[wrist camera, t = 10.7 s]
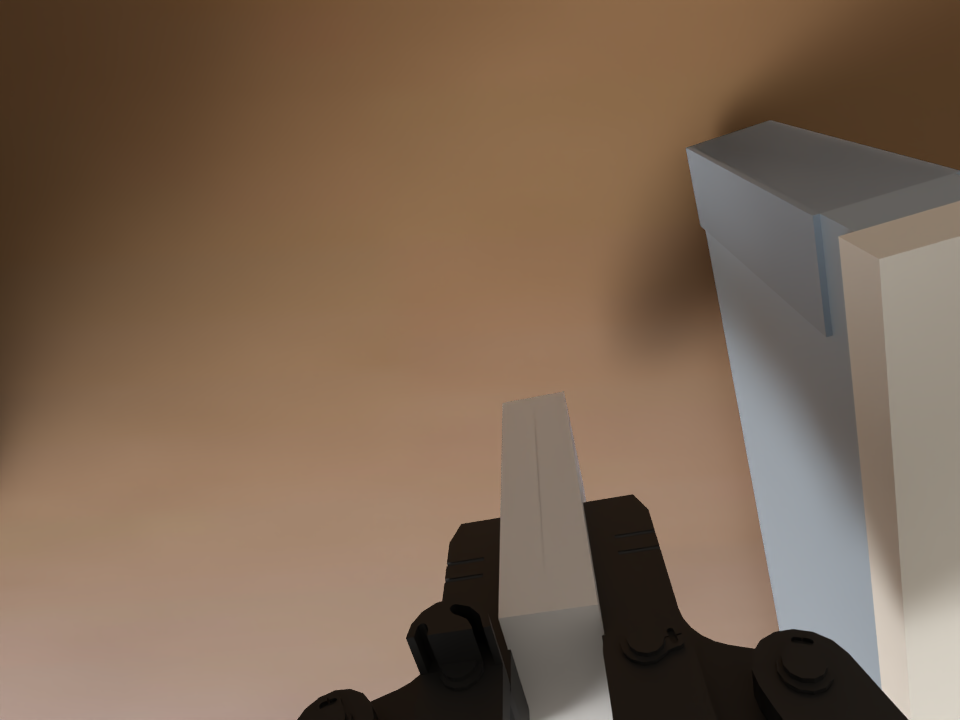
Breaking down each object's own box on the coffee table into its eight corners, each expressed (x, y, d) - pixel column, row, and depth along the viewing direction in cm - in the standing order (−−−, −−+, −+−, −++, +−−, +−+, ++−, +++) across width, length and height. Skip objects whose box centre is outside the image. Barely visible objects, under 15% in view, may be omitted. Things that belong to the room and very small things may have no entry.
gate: (849, 700, 24) (1028, 1035, 16) (789, 711, 24) (933, 1043, 16) (774, 118, 15) (1089, 199, 7) (681, 149, 15) (878, 259, 7)
